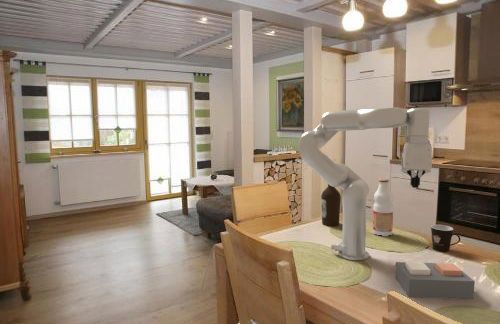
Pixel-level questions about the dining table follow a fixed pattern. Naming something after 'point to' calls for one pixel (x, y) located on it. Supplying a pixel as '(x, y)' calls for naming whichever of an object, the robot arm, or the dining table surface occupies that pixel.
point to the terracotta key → (448, 269)
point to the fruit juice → (383, 209)
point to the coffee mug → (442, 237)
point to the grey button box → (434, 284)
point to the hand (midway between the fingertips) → (414, 187)
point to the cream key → (417, 268)
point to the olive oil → (330, 206)
